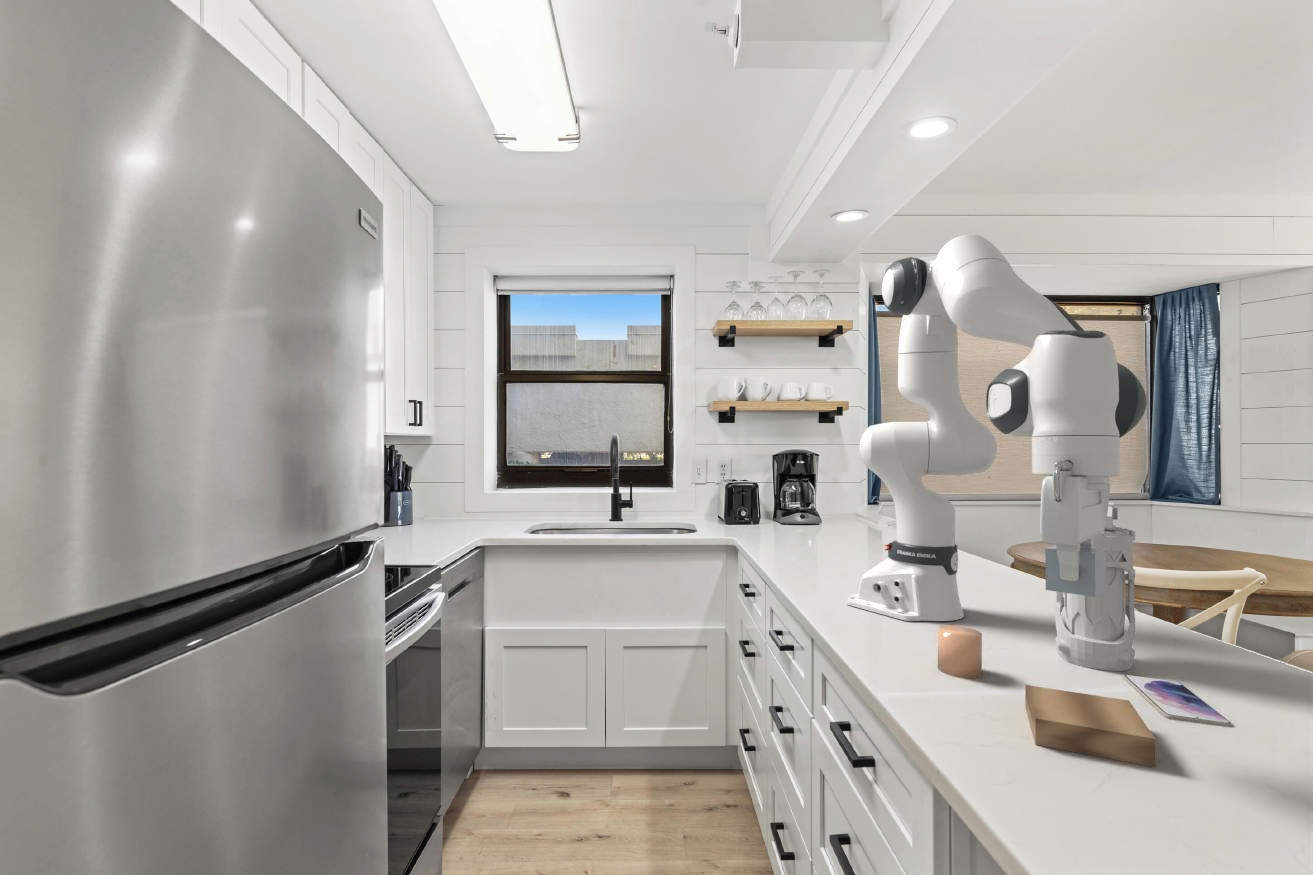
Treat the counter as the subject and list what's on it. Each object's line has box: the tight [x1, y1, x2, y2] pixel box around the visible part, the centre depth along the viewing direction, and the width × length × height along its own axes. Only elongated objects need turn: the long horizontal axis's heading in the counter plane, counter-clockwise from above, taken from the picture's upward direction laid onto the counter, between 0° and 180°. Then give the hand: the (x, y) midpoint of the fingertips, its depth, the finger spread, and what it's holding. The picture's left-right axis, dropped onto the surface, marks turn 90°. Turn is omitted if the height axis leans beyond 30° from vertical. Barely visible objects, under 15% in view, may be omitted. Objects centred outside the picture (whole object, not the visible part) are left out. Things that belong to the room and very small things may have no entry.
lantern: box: [1055, 500, 1136, 672], centre depth 100 cm, size 13×10×25 cm
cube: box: [1044, 544, 1106, 597], centre depth 75 cm, size 5×5×5 cm
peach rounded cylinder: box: [937, 625, 983, 679], centre depth 94 cm, size 6×6×6 cm
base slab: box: [1024, 684, 1156, 768], centre depth 74 cm, size 11×11×3 cm
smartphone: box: [1122, 674, 1233, 728], centre depth 84 cm, size 7×1×15 cm
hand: (1075, 576), depth 75 cm, fingers closed on cube, 5 cm apart
